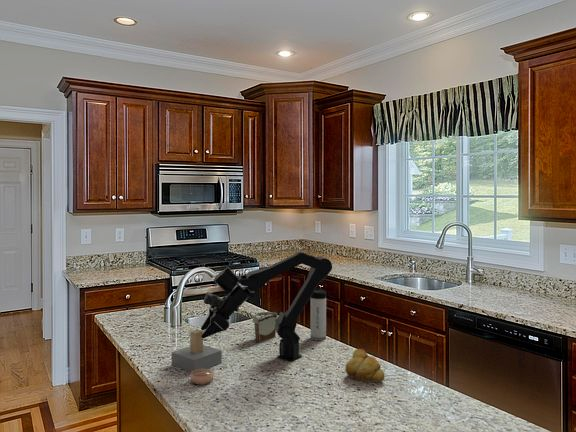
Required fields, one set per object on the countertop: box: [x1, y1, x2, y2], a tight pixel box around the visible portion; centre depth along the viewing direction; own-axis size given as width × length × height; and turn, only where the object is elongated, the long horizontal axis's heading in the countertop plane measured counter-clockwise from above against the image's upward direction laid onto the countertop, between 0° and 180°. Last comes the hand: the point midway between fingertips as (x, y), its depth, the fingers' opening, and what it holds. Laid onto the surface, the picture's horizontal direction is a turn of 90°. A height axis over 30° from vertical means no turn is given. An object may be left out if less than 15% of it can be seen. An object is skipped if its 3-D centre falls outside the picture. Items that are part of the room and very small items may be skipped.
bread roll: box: [345, 348, 386, 383], centre depth 149 cm, size 13×10×8 cm
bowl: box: [190, 368, 214, 385], centre depth 147 cm, size 7×7×3 cm
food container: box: [252, 311, 279, 344], centre depth 190 cm, size 12×6×10 cm, turn 141°
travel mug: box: [310, 287, 327, 341], centre depth 190 cm, size 6×7×20 cm
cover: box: [171, 329, 223, 373], centre depth 162 cm, size 12×12×11 cm
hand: (201, 333), depth 162 cm, fingers open, 9 cm apart
